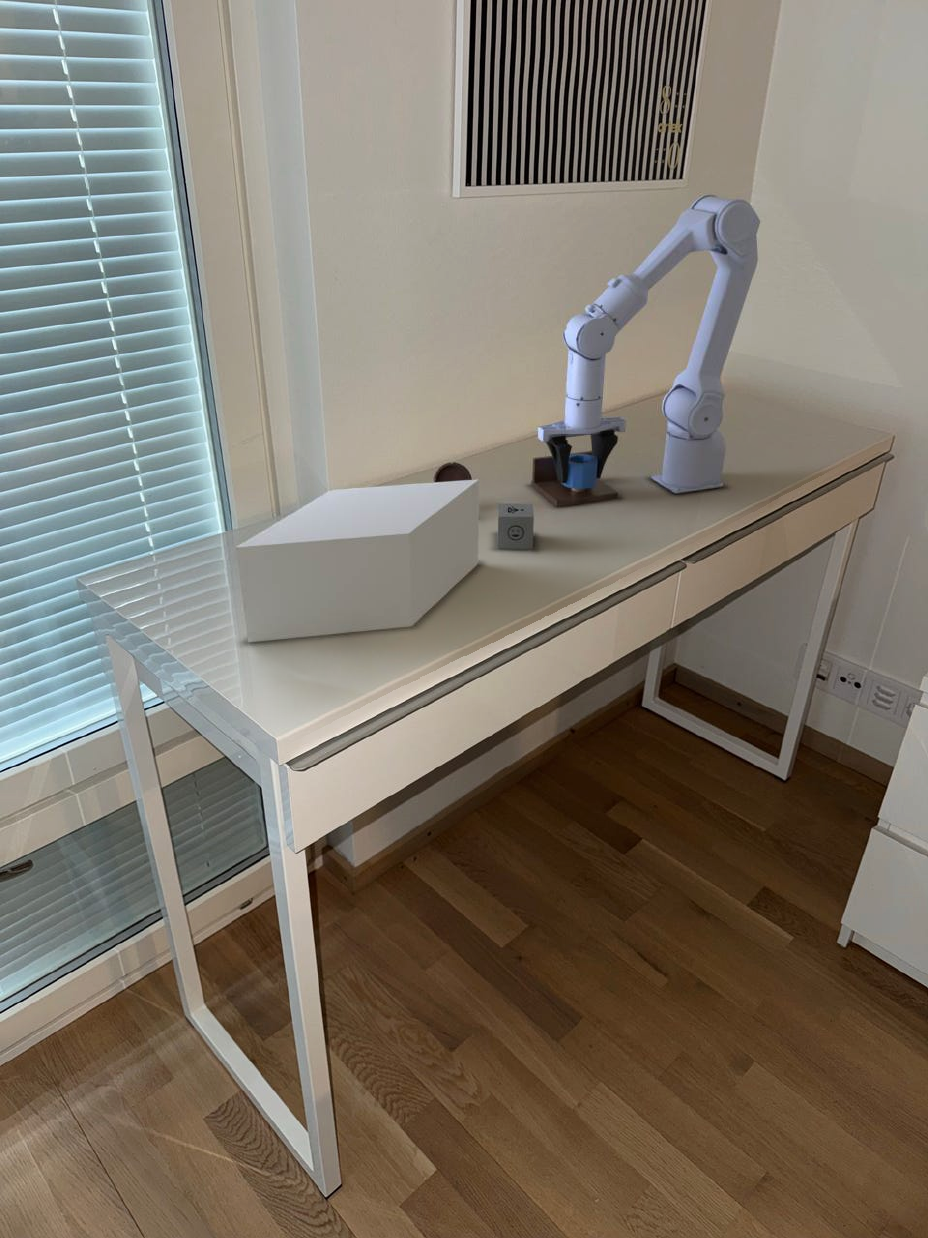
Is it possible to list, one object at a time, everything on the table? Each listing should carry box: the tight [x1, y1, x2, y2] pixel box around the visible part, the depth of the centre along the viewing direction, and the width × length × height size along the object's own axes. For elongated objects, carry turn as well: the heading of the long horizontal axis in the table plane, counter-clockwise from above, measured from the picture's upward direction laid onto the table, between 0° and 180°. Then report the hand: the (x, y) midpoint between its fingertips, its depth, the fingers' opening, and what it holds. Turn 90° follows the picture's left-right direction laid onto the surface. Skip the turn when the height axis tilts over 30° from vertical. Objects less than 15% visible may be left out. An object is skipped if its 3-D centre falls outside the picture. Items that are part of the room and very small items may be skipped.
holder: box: [530, 450, 619, 508], centre depth 149 cm, size 11×10×5 cm
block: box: [235, 479, 480, 643], centre depth 114 cm, size 18×35×12 cm, turn 128°
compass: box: [433, 461, 473, 483], centre depth 140 cm, size 8×8×7 cm
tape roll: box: [562, 454, 598, 489], centre depth 147 cm, size 6×6×4 cm
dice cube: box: [497, 502, 535, 550], centre depth 132 cm, size 5×5×5 cm
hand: (579, 478), depth 148 cm, fingers closed on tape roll, 5 cm apart
